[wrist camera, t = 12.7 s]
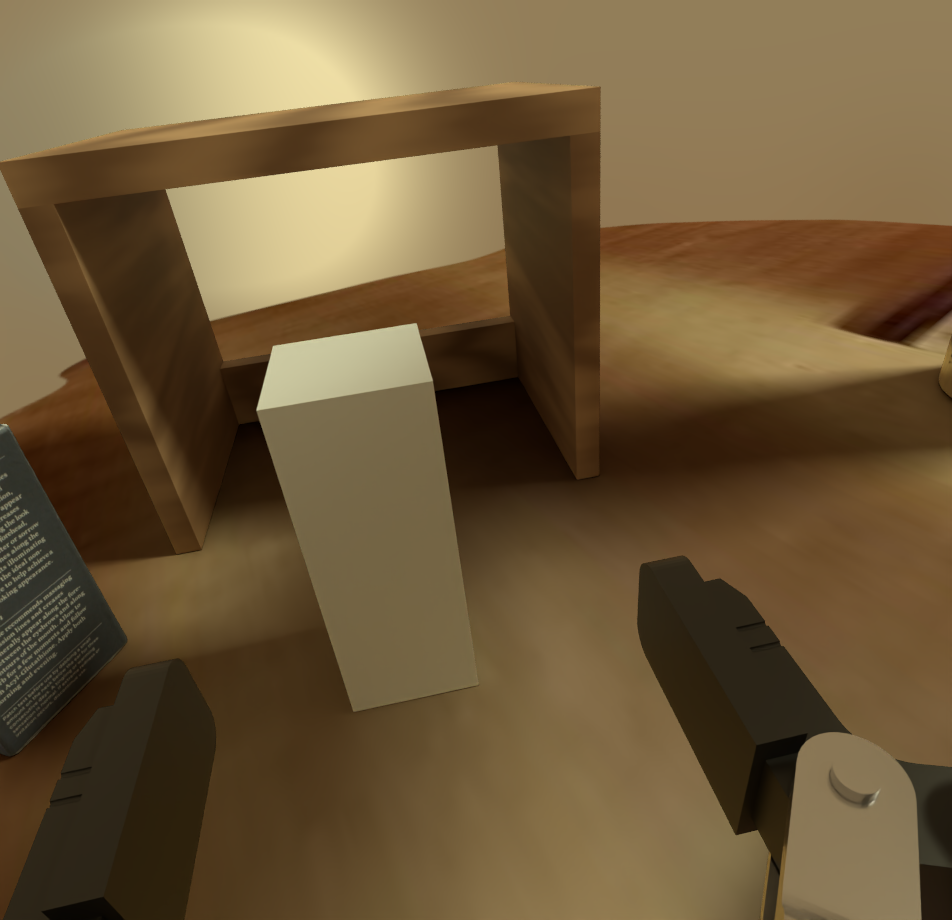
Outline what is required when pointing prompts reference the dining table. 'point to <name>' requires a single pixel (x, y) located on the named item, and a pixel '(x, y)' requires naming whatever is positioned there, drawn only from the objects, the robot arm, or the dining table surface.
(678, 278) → the dining table surface
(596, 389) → the shelf
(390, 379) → the block
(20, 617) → the box
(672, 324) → the dining table surface
